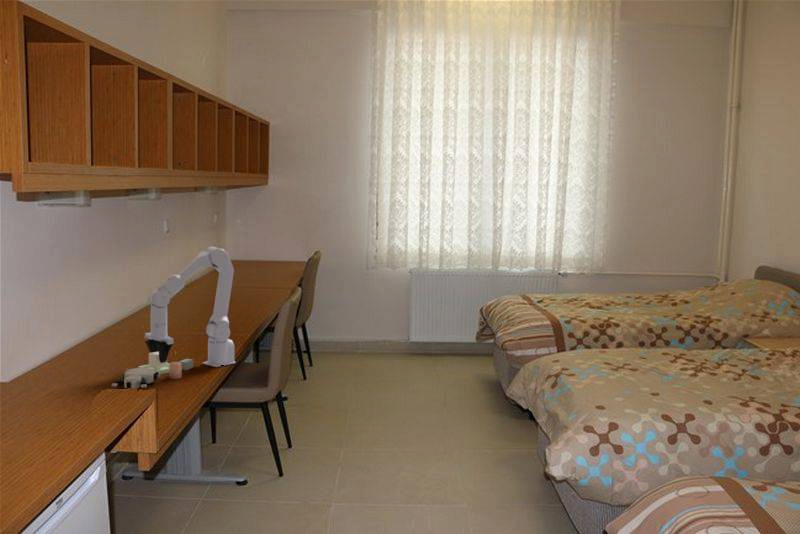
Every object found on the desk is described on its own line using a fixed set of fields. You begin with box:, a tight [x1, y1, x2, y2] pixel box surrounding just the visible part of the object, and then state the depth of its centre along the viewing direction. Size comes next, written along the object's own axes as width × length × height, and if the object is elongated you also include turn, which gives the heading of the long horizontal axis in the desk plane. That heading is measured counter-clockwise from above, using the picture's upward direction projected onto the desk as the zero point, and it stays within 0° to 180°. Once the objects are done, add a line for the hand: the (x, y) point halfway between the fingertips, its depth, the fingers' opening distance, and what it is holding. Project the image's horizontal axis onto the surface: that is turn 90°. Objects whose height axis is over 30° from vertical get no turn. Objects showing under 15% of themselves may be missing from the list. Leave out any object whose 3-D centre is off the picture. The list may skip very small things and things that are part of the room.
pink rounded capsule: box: [168, 361, 183, 380], centre depth 246 cm, size 4×4×5 cm
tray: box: [137, 362, 170, 375], centre depth 254 cm, size 10×10×1 cm
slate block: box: [178, 358, 194, 371], centre depth 259 cm, size 5×3×3 cm, turn 167°
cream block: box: [148, 351, 168, 369], centre depth 254 cm, size 4×4×5 cm
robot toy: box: [111, 367, 163, 390], centre depth 234 cm, size 12×4×15 cm
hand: (158, 361), depth 254 cm, fingers closed on cream block, 4 cm apart
